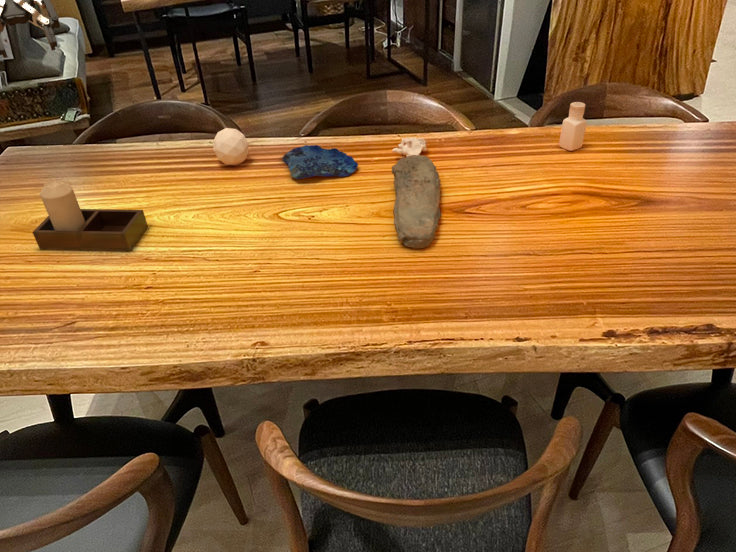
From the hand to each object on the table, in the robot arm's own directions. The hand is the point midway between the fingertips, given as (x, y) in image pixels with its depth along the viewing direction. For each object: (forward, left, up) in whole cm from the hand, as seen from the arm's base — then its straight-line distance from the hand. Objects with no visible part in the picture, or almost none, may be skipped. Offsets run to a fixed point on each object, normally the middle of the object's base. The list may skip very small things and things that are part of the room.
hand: (29, 51), depth 117 cm
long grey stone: (+73, -7, -27) cm, 78 cm away
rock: (+50, +11, -27) cm, 58 cm away
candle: (+9, -22, -26) cm, 35 cm away
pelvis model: (+71, +17, -27) cm, 78 cm away
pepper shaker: (+107, +22, -27) cm, 113 cm away
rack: (+13, -22, -27) cm, 37 cm away
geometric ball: (+31, +12, -27) cm, 43 cm away
